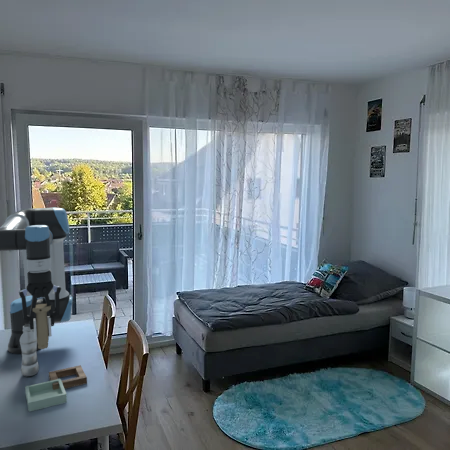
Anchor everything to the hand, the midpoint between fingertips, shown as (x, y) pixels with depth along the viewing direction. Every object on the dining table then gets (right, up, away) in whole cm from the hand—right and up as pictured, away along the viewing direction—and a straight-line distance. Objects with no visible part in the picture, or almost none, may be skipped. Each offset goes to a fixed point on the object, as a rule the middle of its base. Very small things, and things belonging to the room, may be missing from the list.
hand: (42, 336), depth 145 cm
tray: (0, -23, +2) cm, 23 cm away
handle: (0, -4, 0) cm, 4 cm away
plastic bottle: (-14, -21, +21) cm, 33 cm away
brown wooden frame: (+3, -21, +16) cm, 26 cm away
